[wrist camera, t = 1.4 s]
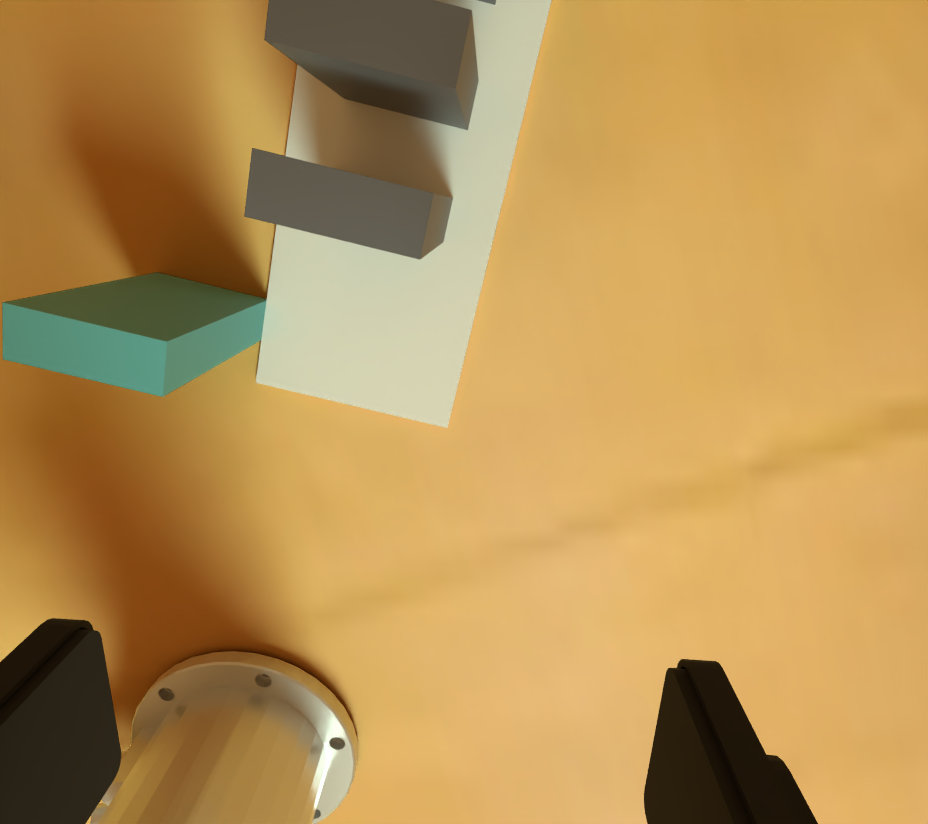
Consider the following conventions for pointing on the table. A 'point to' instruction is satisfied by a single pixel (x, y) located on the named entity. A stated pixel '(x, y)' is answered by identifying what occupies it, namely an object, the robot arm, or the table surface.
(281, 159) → the domino
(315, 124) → the plate
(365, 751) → the table surface
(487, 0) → the domino
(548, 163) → the table surface
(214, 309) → the domino
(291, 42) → the domino
